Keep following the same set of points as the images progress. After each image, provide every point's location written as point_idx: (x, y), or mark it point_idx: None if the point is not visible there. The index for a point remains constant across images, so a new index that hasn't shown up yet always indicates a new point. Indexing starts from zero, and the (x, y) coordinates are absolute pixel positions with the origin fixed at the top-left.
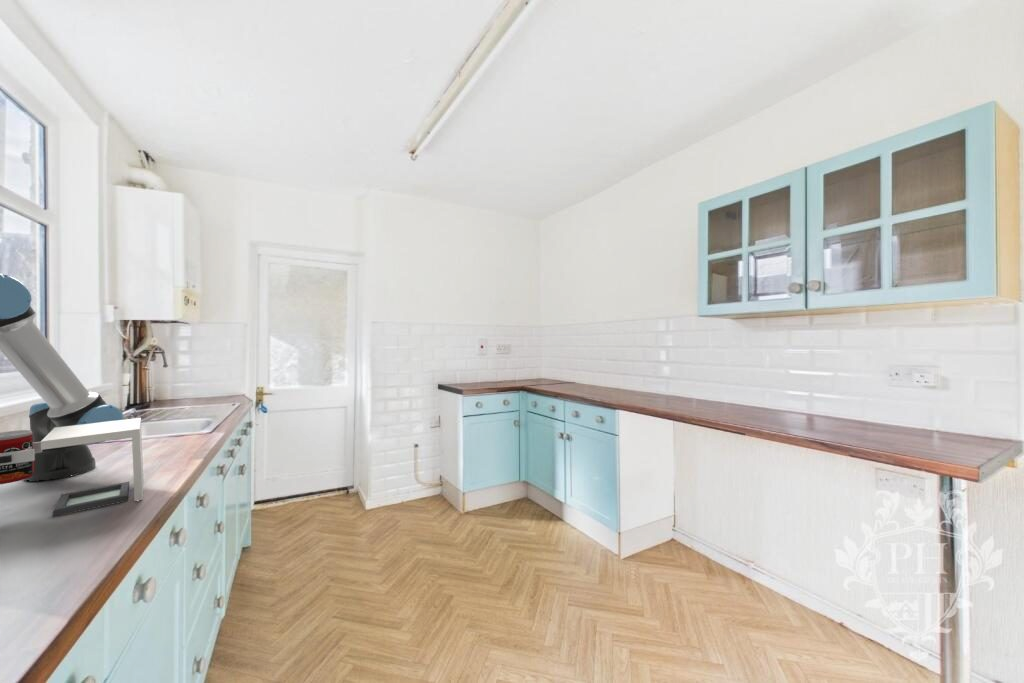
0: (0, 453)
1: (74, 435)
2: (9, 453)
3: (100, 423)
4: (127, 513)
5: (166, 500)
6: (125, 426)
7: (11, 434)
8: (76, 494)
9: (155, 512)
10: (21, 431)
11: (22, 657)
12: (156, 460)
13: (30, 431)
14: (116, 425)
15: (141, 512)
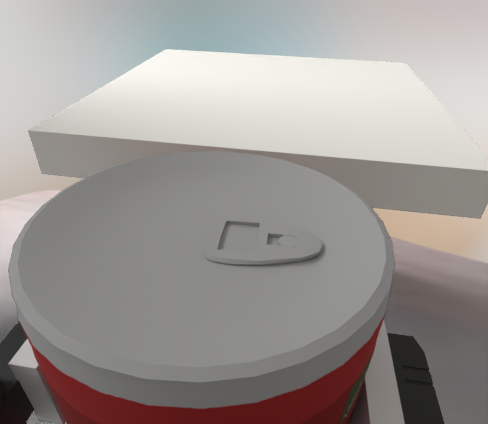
0: (372, 368)
1: (406, 116)
2: (386, 330)
3: (152, 77)
4: (440, 289)
5: (390, 237)
6: (319, 66)
7: (175, 218)
8: None
9: (467, 258)
10: (124, 179)
11: None
12: (3, 202)
13: (235, 152)
14: (266, 70)
15: (450, 273)
